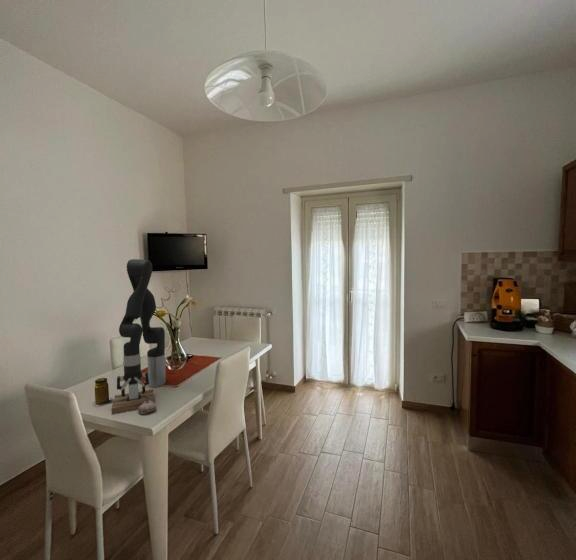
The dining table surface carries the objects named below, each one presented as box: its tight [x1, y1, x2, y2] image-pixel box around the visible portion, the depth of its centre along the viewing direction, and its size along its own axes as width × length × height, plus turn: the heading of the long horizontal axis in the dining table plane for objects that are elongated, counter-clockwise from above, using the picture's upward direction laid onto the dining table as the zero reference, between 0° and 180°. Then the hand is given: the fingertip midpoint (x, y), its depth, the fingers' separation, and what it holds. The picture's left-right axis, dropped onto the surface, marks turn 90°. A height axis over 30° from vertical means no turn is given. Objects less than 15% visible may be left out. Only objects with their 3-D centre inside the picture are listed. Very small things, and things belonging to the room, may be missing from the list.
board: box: [111, 388, 155, 415], centre depth 155 cm, size 15×18×3 cm
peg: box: [128, 382, 139, 401], centre depth 154 cm, size 4×4×10 cm
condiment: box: [93, 377, 114, 408], centre depth 157 cm, size 7×8×12 cm
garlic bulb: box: [137, 395, 157, 415], centre depth 146 cm, size 8×7×8 cm
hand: (133, 394), depth 154 cm, fingers open, 8 cm apart
